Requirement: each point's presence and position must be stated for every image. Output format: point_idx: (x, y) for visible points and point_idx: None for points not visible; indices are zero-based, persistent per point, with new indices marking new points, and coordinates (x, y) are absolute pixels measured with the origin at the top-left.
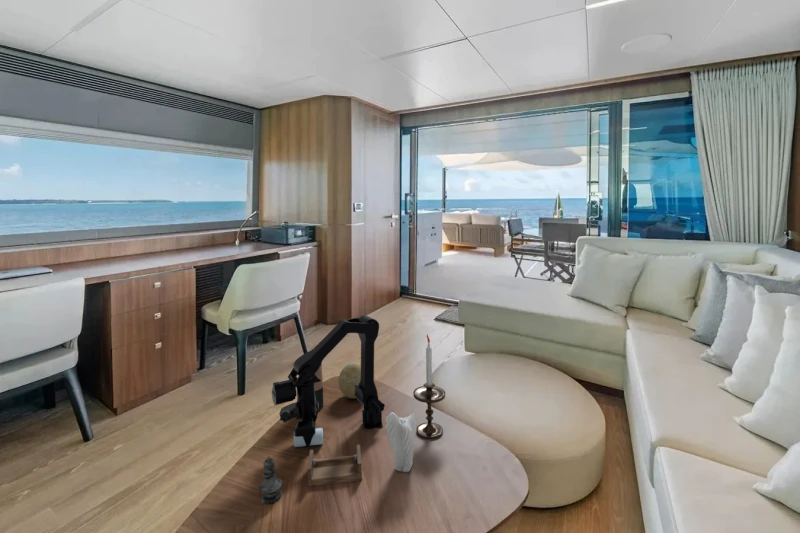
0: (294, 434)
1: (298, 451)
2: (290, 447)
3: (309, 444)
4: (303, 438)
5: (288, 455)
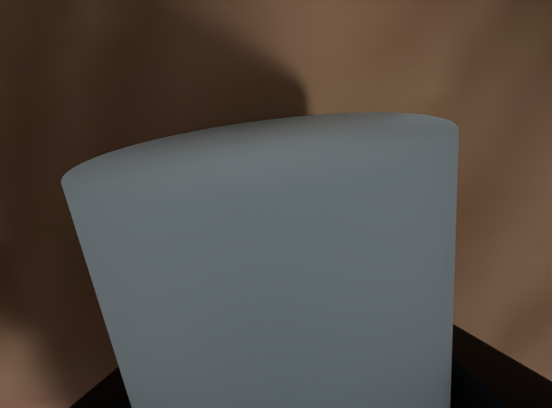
0: (122, 224)
1: None
2: (225, 51)
3: None
4: (128, 396)
5: (9, 76)
